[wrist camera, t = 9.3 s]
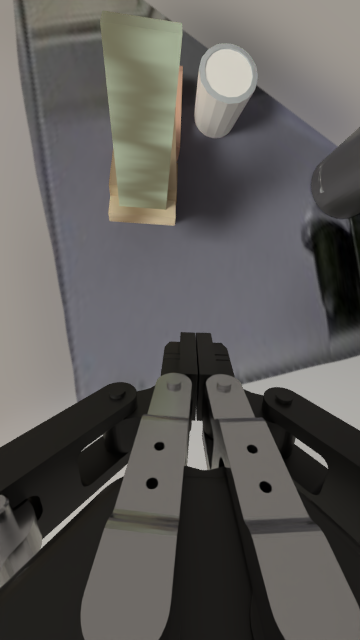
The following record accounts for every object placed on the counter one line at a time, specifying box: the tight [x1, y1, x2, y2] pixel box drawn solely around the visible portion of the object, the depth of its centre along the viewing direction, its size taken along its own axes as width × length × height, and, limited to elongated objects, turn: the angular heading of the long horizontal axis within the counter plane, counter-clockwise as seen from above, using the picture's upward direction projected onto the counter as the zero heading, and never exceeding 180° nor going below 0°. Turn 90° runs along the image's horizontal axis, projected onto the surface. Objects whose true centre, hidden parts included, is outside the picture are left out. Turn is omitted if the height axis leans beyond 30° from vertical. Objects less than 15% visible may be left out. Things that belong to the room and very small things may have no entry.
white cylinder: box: [194, 44, 258, 138], centre depth 34 cm, size 7×7×7 cm
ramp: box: [100, 11, 182, 226], centre depth 23 cm, size 6×14×13 cm, turn 178°
